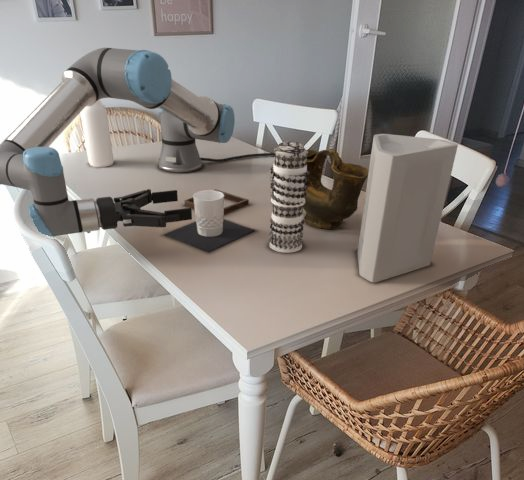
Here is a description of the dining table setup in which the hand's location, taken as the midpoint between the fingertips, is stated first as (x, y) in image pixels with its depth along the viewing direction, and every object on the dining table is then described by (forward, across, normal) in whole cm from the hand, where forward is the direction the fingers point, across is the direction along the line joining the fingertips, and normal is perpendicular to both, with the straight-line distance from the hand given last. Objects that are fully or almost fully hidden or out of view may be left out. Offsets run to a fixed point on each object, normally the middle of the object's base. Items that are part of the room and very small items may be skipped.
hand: (184, 204), depth 131 cm
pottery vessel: (+39, +3, -9) cm, 40 cm away
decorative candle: (+22, +14, -9) cm, 28 cm away
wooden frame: (+15, -19, -9) cm, 26 cm away
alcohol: (-12, -72, -9) cm, 74 cm away
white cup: (+7, 0, -9) cm, 11 cm away
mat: (+7, 0, -9) cm, 11 cm away
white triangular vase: (+41, +30, -9) cm, 52 cm away
